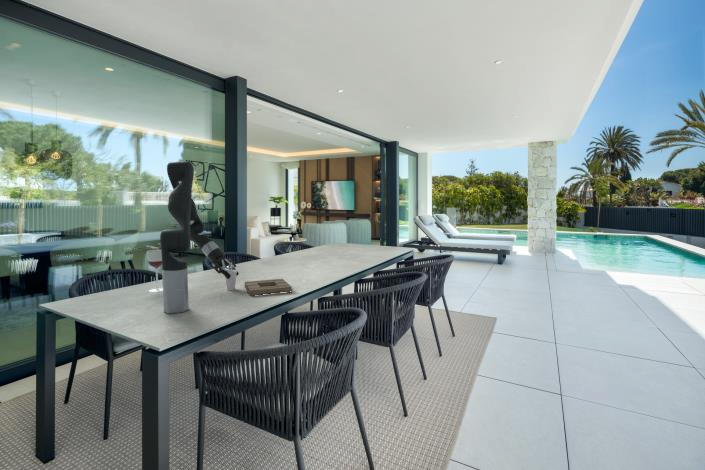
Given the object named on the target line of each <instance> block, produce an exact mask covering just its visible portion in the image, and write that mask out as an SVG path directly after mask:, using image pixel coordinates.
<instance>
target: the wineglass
mask: <svg viewBox="0 0 705 470" xmlns="http://www.w3.org/2000/svg"><path fill="white" fill-rule="evenodd" d="M145 254H146V260H147V262H148V265H150V266H151V267H152V268H155V281H156V285H155V286H156V288H152V289H149V290H148V291H149V292H150V293H158V292H163V287H161V288H160V287H159V275H158V273H159V271H158V268H160V267H162V254H161V248H160V249H149V250H146V253H145Z"/></svg>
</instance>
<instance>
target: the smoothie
mask: <svg viewBox="0 0 705 470" xmlns="http://www.w3.org/2000/svg"><path fill="white" fill-rule="evenodd" d="M230 268H231V270H229V269H226V271H227V272H228V273H229V274H230V275H231V277H230V278H229V279H227V278H226V277H225V276H224V277H225V279H224V280H225V284H226V290H227V291H234V289H236V281H237V276H236V273H237V272H238V270H237V269H236V270H232V262H231V267H230Z"/></svg>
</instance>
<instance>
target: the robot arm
mask: <svg viewBox="0 0 705 470" xmlns="http://www.w3.org/2000/svg"><path fill="white" fill-rule="evenodd" d="M193 165H194V164H192V162H190V161H187V160H185V161H184V160H183V161H170V162H168V163H167V165H166V172H167V177H168V179H169V182H170V184H171V187H172V191H171V193H170V194H169V195H168V200H167V209H168V212H169V213H170V215H171V216H172V217H173V219H175V221H176V222H177V223H178V225H179V226H180V229H163V230H161V232H160V235H159V237H160V238H159V242H160V249H161V254H162V265H161V267H162V268H161V269H162V271H161V272H162V288H163V291H162V294H163V295H162V297H163V312H164V313H166V314H170V315H171V314H178V313H185V312H186V311H188V310H189V309H190V307H189V280H188V279H189V278H188V277H189V276H188V274H189V273H188V262H187V261H186V260H184V259H181V258H178V257H176V256H174V255H172V253H185V252H188V251H189V250H190V247H191V241H192V242H193V243H195V244H196V245H197V246H198V247H199V249H200V250H201V251H202V253H203V254H204V255H205V257H206V258H207V259H208V260H209V261H210V262H211V265H210V267H212V269H214V271H216V272H217V273H218V274H221V275H223V276H224V277H226V278H227V279H229V278H230V277H231V275H230V274H229V273H228V272H227V271H226V270H231V262H232V270H237V269H236V267H237V264H236V263H235V262H234V261H233V260H232V258H231V257H229V258H228V259H227V258H226V257H225V256H226V255H225V253H224V251H223V250H222V249H221V248H220V247H219V245H218V244H217V243H215V242H214V241H213V239H212V238H211V237H210V236H209V235H208V234H206V233H205V234H204V233H203V232H204V231H205V225H204V223H203V222H202V220H201V219H200V216H199V214H198V210H197V206H196V202H195V201H194V199H193V198H192V197H193V196H192V189H193V184H194V177H195V176H194V174H195V172H194V171H195V169H194V166H193ZM191 221H192V222H191ZM202 233H203V234H202ZM239 274H240V272H238V271H237V273H236V277H237V276H239Z"/></svg>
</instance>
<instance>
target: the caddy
mask: <svg viewBox="0 0 705 470" xmlns="http://www.w3.org/2000/svg"><path fill="white" fill-rule="evenodd" d="M245 288H246V289H245ZM244 289H245V290H246V292H247V294H248V293H249V294H248V295H249V297H250V296H253V297H256V296H255V295H263V294H271V293H280V292H290V291H292V292H293V287H292V285H291V284H289V283H288V282H287V281H286V280H285V279H284V278H276V279H263V280H262V279H261V280H251V281H250V280H249V281H248V280H247V281H244ZM263 296H264V295H263Z"/></svg>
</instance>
